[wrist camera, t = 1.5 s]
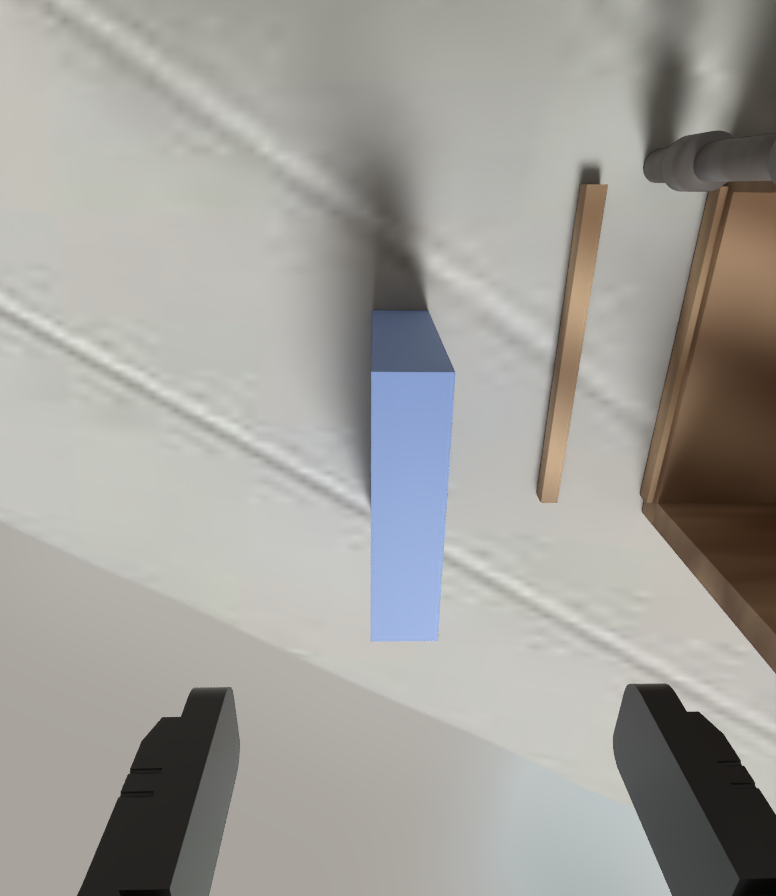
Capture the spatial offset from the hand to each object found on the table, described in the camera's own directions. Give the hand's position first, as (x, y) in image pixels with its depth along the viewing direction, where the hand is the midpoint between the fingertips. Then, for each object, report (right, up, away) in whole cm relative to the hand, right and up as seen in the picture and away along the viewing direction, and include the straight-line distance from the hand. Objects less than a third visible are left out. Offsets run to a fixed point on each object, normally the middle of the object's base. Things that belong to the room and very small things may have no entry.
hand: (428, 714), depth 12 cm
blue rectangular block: (0, +7, +15) cm, 16 cm away
